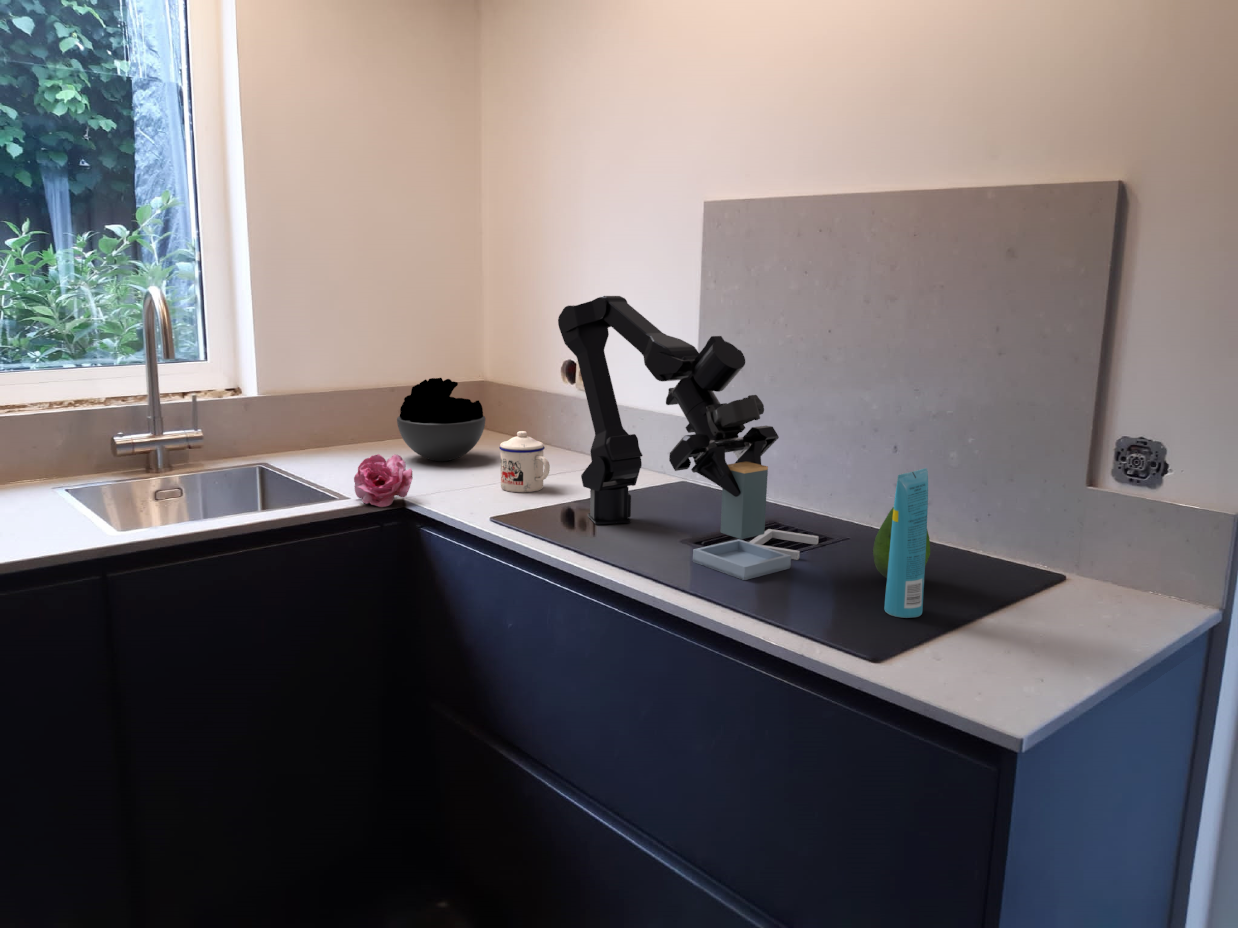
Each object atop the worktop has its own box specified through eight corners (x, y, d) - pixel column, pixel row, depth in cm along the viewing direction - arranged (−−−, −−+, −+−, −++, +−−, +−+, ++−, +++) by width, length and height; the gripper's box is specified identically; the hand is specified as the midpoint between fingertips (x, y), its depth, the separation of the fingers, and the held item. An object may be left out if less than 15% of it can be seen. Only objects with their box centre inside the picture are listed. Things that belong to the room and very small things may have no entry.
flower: (388, 525, 177) (355, 485, 173) (370, 518, 186) (338, 479, 181) (433, 485, 182) (402, 445, 177) (414, 479, 190) (383, 441, 186)
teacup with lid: (490, 488, 195) (489, 431, 192) (522, 481, 201) (522, 426, 199) (532, 497, 187) (532, 439, 185) (564, 490, 194) (564, 433, 192)
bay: (745, 551, 154) (745, 544, 153) (768, 535, 163) (768, 528, 163) (797, 559, 150) (797, 552, 149) (818, 543, 159) (818, 536, 159)
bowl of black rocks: (455, 449, 236) (454, 372, 232) (502, 461, 221) (502, 380, 217) (381, 458, 222) (379, 377, 218) (427, 472, 208) (425, 386, 204)
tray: (692, 561, 148) (693, 549, 147) (738, 551, 154) (738, 539, 153) (744, 580, 139) (744, 567, 139) (790, 568, 145) (791, 555, 145)
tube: (897, 601, 132) (908, 464, 128) (931, 609, 128) (943, 469, 125) (873, 615, 126) (884, 472, 122) (908, 624, 123) (920, 478, 119)
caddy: (720, 532, 146) (723, 465, 144) (743, 527, 149) (746, 461, 147) (741, 539, 142) (744, 470, 140) (764, 533, 145) (768, 466, 143)
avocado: (919, 593, 135) (925, 510, 133) (864, 582, 139) (870, 502, 137) (933, 578, 142) (940, 499, 139) (881, 569, 146) (886, 492, 143)
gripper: (684, 381, 138) (735, 469, 132) (773, 374, 150) (823, 455, 143) (648, 427, 146) (694, 512, 140) (734, 417, 157) (781, 496, 151)
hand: (750, 492), depth 143 cm, fingers closed on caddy, 5 cm apart
